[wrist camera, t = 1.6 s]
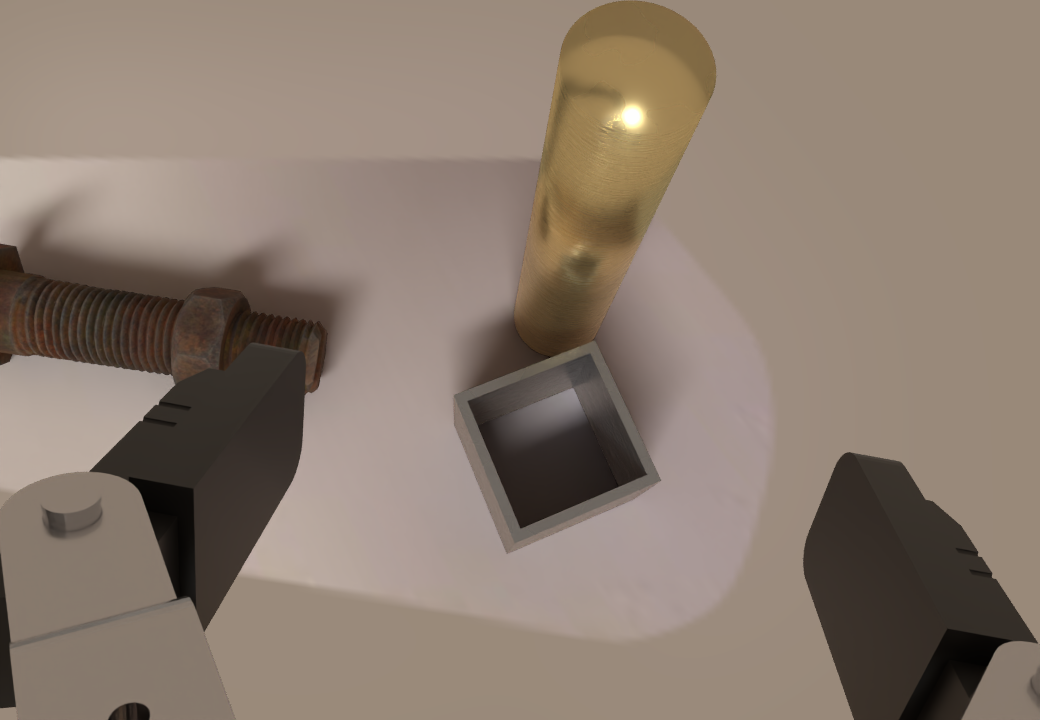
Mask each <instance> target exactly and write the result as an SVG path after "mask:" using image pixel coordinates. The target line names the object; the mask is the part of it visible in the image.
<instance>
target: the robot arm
mask: <svg viewBox="0 0 1040 720" xmlns="http://www.w3.org/2000/svg"><path fill="white" fill-rule="evenodd" d="M305 377H306V360H305V355H304V353H303V352H302V351H297V350H292V349H286V348H281V347H275V346H270V345H264V344H259V343H250V344H249V345H248V346H247V347H246V348H245V349H244V350H243V351H242V352H241V354H240V355H239V356H238V357H237V358H236V359H235V360H234V361H233V362H232V363H231V365H230V366H229V367H228V368H227V369H226V370H225V371H223V370H217V369H212V368H208V369H206V370H204V371H201V372H199V373H197V374H195V375H193V376H190V377H188V378H186V379H184V380H182V381H180V382H178V383H177V384H176V385H175V386H174V387H173V388H172V389H171V390H170V391H169V392H168V393H167V394H166V395H165V396H164V397H163V398H162V399H161V400H160V401H159V405H155V406H154V407H153V408H152V409H151V410H150V411H149V412H148V413H147V414H146V415H145V416H144V419H143V421H139V422H138V423H137V424H136V425H135V426H134V427H133V428H132V429H131V430H130V431H129V432H128V433H127V434H126V435H125V436H124V437H123V438H122V439H121V440H120V441H119V442H118V443H117V444H116V445H115V446H114V447H113V448H112V449H111V450H110V451H109V452H108V453H107V454H106V455H105V456H104V457H103V458H102V459H101V460H100V461H99V462H98V463H97V464H96V465H95V466H94V467H93V468H92V469H91V470H90V471H89V472H75V473H67V474H61V475H57V476H52V477H49V478H46V479H43V480H40V481H37V482H35V483H33V484H30V485H28V486H26V487H25V488H23V489H21V490H19V491H18V492H17V493H15V494H14V495H13V496H11V497H10V498H9V499H8V500H7V501H6V502H5V503H4V505H3V506H2V508H1V509H0V708H8V707H16V709H17V719H18V720H236V719H235V716H234V713H233V710H232V708H231V705H230V702H229V700H228V697H227V694H226V691H225V688H224V686H223V683H222V680H221V677H220V675H219V672H218V669H217V666H216V664H215V661H214V658H213V655H212V653H211V650H210V647H209V644H208V642H207V639H206V636H205V633H204V632H205V630H206V628H207V626H208V625H209V623H210V621H211V619H212V618H213V616H214V614H215V613H216V611H217V609H218V608H219V606H220V604H221V602H222V601H223V599H224V597H225V596H226V594H227V592H228V590H229V589H230V587H231V585H232V584H233V582H234V580H235V578H236V577H237V575H238V573H239V572H240V570H241V568H242V566H243V565H244V563H245V561H246V560H247V558H248V556H249V554H250V553H251V551H252V549H253V548H254V546H255V544H256V542H257V541H258V539H259V537H260V536H261V534H262V532H263V530H264V529H265V527H266V525H267V524H268V522H269V520H270V518H271V517H272V515H273V513H274V512H275V510H276V508H277V506H278V505H279V503H280V501H281V500H282V498H283V496H284V495H285V493H286V491H287V489H288V488H289V486H290V484H291V482H292V480H293V478H294V476H295V473H296V470H297V467H298V463H299V459H300V454H301V448H302V438H303V418H304V397H305ZM803 561H804V562H803V566H804V575H805V579H806V581H807V584H808V588H809V590H810V593H811V596H812V599H813V602H814V605H815V608H816V611H817V614H818V616H819V619H820V622H821V625H822V628H823V631H824V634H825V637H826V640H827V643H828V645H829V648H830V651H831V654H832V657H833V660H834V663H835V666H836V669H837V672H838V674H839V677H840V680H841V683H842V686H843V689H844V692H845V695H846V697H847V700H848V703H849V706H850V709H851V712H852V715H853V718H854V720H1040V644H1038V642H1037V641H1036V639H1035V638H1034V636H1033V635H1032V633H1031V632H1030V630H1029V629H1028V627H1027V626H1026V624H1025V622H1024V621H1023V620H1022V618H1021V616H1020V615H1019V613H1018V612H1017V610H1016V609H1015V607H1014V606H1013V604H1012V603H1011V601H1010V600H1009V598H1008V597H1007V595H1006V594H1005V592H1004V590H1003V589H1002V588H1001V586H1000V584H999V583H998V581H997V580H996V579H993V578H992V572H991V571H990V569H989V568H988V566H987V565H986V563H985V562H984V560H983V559H982V557H978V551H977V549H976V548H975V546H974V545H973V543H972V542H971V540H970V539H969V537H968V536H967V534H966V532H965V531H964V530H963V528H962V526H961V525H959V524H958V523H957V522H956V521H955V520H954V519H952V518H951V517H950V516H949V515H948V514H946V513H945V512H944V511H943V510H942V509H941V508H940V507H939V506H937V505H936V504H935V503H934V502H933V501H929V500H925V498H924V497H923V495H922V493H921V492H920V490H919V488H918V487H917V485H916V484H915V482H914V480H913V479H912V477H911V476H910V474H909V472H908V471H907V469H906V468H905V466H904V465H903V464H902V463H901V462H899V461H894V460H889V459H883V458H878V457H872V456H867V455H861V454H855V453H850V452H849V453H845V454H844V455H843V456H842V457H841V458H840V459H839V461H838V462H837V464H836V466H835V468H834V471H833V473H832V476H831V479H830V481H829V483H828V486H827V488H826V491H825V493H824V496H823V498H822V501H821V503H820V506H819V508H818V511H817V513H816V516H815V518H814V521H813V523H812V525H811V528H810V530H809V533H808V536H807V539H806V543H805V548H804V558H803Z"/></svg>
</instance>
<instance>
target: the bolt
mask: <svg viewBox="0 0 1040 720" xmlns="http://www.w3.org/2000/svg"><path fill="white" fill-rule="evenodd" d="M326 340H327V332H326V330H325V329H324V328H323V326H322V325H321V323H320V322H317V323H316V324H315V325H314V323H313V322H312V320H310V321H309V322H308V323H306V321H305V320H304V319H302V320H301V321H300V322H298V320H297V318H295V319H293V320H290V318H289V317H286V318H284V319H282V317H281V316H277V317H276V318H274V316H273V314H271V315H269V316H266V314H264V313H262V314H260V315H258V313H257V312H253V313H252V314H251V310H250V306H249V303H248V301H247V299H246V298H245V297H244V295H243V294H242V293H241V291H236V290H229V289H223V288H216V287H212V288H202V289H197V290H195V291H193V292H192V293H191V294H190V295H189V296H188V297H187V299H186V300H185V301H184V300H180V301H179V302H178V300H177V299H172V300H170V299H169V298H167V297H165V298H163V299H162V298H161V297H159V296H155V297H153V296H151V295H147V296H146V295H144V294H136V293H133V292H131V293H129V292H126V291H122V292H121V291H119V290H111V289H109V290H105V289H102V288H95V287H88V286H87V285H79V284H77V283H75V284H72V283H69V282H62V281H55V280H51V279H46V278H45V277H43V276H39V275H33V274H27V273H24V270H23V267H22V264H21V261H20V258H19V254H18V251H17V248H16V246H11V245H4V244H0V365H2V364H5V363H7V362H10V359H11V356H12V354H15V355H22V356H31V355H39V356H42V357H45V356H46V357H50V358H57V359H65V360H73V361H76V362H78V361H81V362H83V363H91V364H98V365H106V366H114V367H116V368H119V367H122V368H123V369H131V370H139V371H142V372H143V371H147V372H149V373H151V372H155V373H157V374H161V373H163V374H165V375H169V374H171V375H172V376H173V379H174V382H175V385H176V384H177V383H178V382H180V381H182V380H184V379H186V378H188V377H190V376H193V375H195V374H197V373H199V372H201V371H204V370H206V369H208V368H212V369H217V370H223V371H225V370H226V369H227V368H228V367H229V366H230V365H231V363H232V362H233V361H234V360H235V359H236V358H237V357H238V356H239V355H240V354H241V352H242V351H243V350H244V349H245V348H246V347H247V346H248V345H249V344H250V343H259V344H264V345H270V346H275V347H281V348H286V349H292V350H297V351H302V352H303V353H304V355H305V360H306V377H305V394H306V393H307V392H310V393H312V392H314V391H315V390H317V388H318V386H319V383H320V376H321V372H322V368H323V363H324V358H325V349H326Z"/></svg>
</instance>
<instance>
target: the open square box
mask: <svg viewBox="0 0 1040 720" xmlns="http://www.w3.org/2000/svg"><path fill="white" fill-rule="evenodd" d="M570 388H574V390H575V392H576V394H577V396H578V399H579V401H580V403H581V405H582V407H583V410H584V412H585V414H586V416H587V418H588V421H589V423H590V425H591V427H592V429H593V432H594V434H595V436H596V438H597V440H598V443H599V445H600V447H601V449H602V451H603V454H604V456H605V458H606V460H607V462H608V464H609V467H610V469H611V471H612V473H613V475H614V478H615V480H616V482H617V484H618V486H619V487H618V488H615V489H613V490H611V491H608V492H606V493H604V494H601V495H599V496H597V497H594V498H592V499H589V500H587V501H585V502H582V503H580V504H578V505H575V506H573V507H571V508H568V509H566V510H564V511H561V512H559V513H557V514H554V515H552V516H550V517H547V518H545V519H543V520H540V521H538V522H536V523H533V524H531V525H528V526H526V527H524V528H521V529H520V526H519V524H518V522H517V519H516V517H515V514H514V512H513V510H512V507H511V505H510V502H509V500H508V498H507V495H506V493H505V490H504V488H503V486H502V483H501V481H500V478H499V476H498V474H497V471H496V469H495V466H494V464H493V462H492V459H491V457H490V454H489V452H488V450H487V447H486V445H485V442H484V440H483V438H482V435H481V433H480V430H479V428H478V426H477V425H479V424H482V423H485V422H487V421H490V420H492V419H495V418H497V417H500V416H502V415H505V414H507V413H510V412H512V411H515V410H517V409H520V408H522V407H525V406H527V405H530V404H532V403H535V402H537V401H540V400H542V399H545V398H547V397H550V396H553V395H555V394H558V393H560V392H563V391H565V390H568V389H570ZM454 425H455V428H456V430H457V433H458V435H459V438H460V440H461V442H462V445H463V447H464V450H465V452H466V455H467V457H468V460H469V462H470V464H471V467H472V469H473V472H474V474H475V477H476V479H477V482H478V484H479V486H480V489H481V491H482V494H483V496H484V499H485V501H486V504H487V506H488V508H489V511H490V513H491V516H492V518H493V521H494V523H495V526H496V528H497V530H498V533H499V535H500V538H501V540H502V543H503V545H504V548H505V550H506V552H507V554H508V553H510V552H512V551H515V550H517V549H519V548H522V547H524V546H526V545H529V544H531V543H533V542H536V541H538V540H540V539H543V538H545V537H547V536H550V535H552V534H554V533H556V532H559V531H561V530H563V529H566V528H568V527H570V526H573V525H575V524H577V523H580V522H582V521H584V520H587V519H589V518H591V517H594V516H596V515H598V514H601V513H603V512H605V511H608V510H610V509H612V508H614V507H617V506H619V505H621V504H624V503H626V502H628V501H631V500H633V499H635V498H636V497H638V496H639V495H641V494H642V493H644V492H645V491H647V490H648V489H650V488H651V487H653V486H654V485H656V484H657V483H659V482H660V481H661V479H660V477H659V475H658V473H657V471H656V468H655V466H654V464H653V462H652V460H651V458H650V456H649V454H648V451H647V449H646V447H645V445H644V443H643V441H642V439H641V437H640V434H639V432H638V430H637V428H636V426H635V424H634V422H633V420H632V417H631V415H630V413H629V411H628V409H627V407H626V405H625V403H624V400H623V398H622V396H621V394H620V392H619V390H618V388H617V386H616V383H615V381H614V379H613V377H612V375H611V373H610V371H609V369H608V366H607V364H606V362H605V360H604V358H603V356H602V354H601V352H600V349H599V347H598V345H597V343H596V341H592V342H590V343H587V344H585V345H582V346H580V347H577V348H574V349H572V350H569V351H567V352H564V353H562V354H559V355H556V356H554V357H551V358H549V359H546V360H543V361H541V362H538V363H536V364H533V365H531V366H528V367H525V368H523V369H520V370H518V371H515V372H512V373H510V374H507V375H505V376H502V377H500V378H497V379H494V380H492V381H489V382H487V383H484V384H482V385H479V386H476V387H474V388H471V389H469V390H466V391H463V392H461V393H458V394H456V395H454Z"/></svg>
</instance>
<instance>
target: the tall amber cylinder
mask: <svg viewBox="0 0 1040 720" xmlns="http://www.w3.org/2000/svg"><path fill="white" fill-rule="evenodd" d="M715 82H716V66H715V60H714V57H713V54H712V51H711V49H710V47H709V45H708V43H707V41H706V40H705V38H704V37H703V35H702V34H701V33H700V32H699V30H698V29H697V28H696V27H695V26H694V25H693V24H692V23H690V22H689V21H688V20H686V19H685V18H684V17H682V16H681V15H679V14H678V13H676V12H674V11H672V10H670V9H668V8H666V7H663V6H660V5H657V4H654V3H649V2H642V1H618V2H612V3H608V4H605V5H602V6H599V7H597V8H595V9H593V10H591V11H589V12H587V13H586V14H585V15H583V16H582V17H581V18H579V19H578V20H577V21H576V22H575V24H574V25H573V26H572V27H571V28H570V30H569V31H568V33H567V35H566V37H565V39H564V41H563V44H562V48H561V53H560V58H559V64H558V69H557V75H556V81H555V87H554V92H553V97H552V103H551V109H550V114H549V120H548V125H547V131H546V137H545V142H544V148H543V153H542V159H541V164H540V170H539V175H538V181H537V187H536V192H535V198H534V203H533V209H532V215H531V220H530V226H529V231H528V237H527V243H526V248H525V254H524V259H523V265H522V270H521V276H520V282H519V287H518V293H517V298H516V304H515V310H514V321H515V326H516V329H517V331H518V333H519V335H520V337H521V338H522V340H523V341H524V342H525V343H526V344H527V345H528V346H529V347H530V348H531V349H533V350H535V351H536V352H538V353H540V354H543V355H546V356H550V357H554V356H556V355H559V354H562V353H564V352H567V351H569V350H572V349H574V348H577V347H580V346H582V345H585V344H587V343H590V342H592V341H593V339H594V338H595V336H596V334H597V332H598V330H599V328H600V326H601V324H602V322H603V320H604V317H605V315H606V313H607V311H608V309H609V307H610V305H611V303H612V301H613V299H614V297H615V295H616V293H617V291H618V289H619V286H620V284H621V282H622V280H623V278H624V276H625V274H626V272H627V270H628V268H629V266H630V264H631V262H632V260H633V257H634V255H635V253H636V251H637V249H638V247H639V245H640V243H641V241H642V239H643V237H644V235H645V233H646V231H647V229H648V226H649V224H650V222H651V220H652V218H653V216H654V214H655V212H656V210H657V208H658V206H659V203H660V202H661V200H662V197H663V195H664V193H665V191H666V189H667V187H668V185H669V183H670V181H671V179H672V177H673V175H674V173H675V171H676V169H677V166H678V164H679V162H680V160H681V158H682V156H683V154H684V152H685V150H686V148H687V146H688V144H689V142H690V140H691V137H692V135H693V133H694V131H695V129H696V127H697V125H698V123H699V121H700V119H701V117H702V115H703V113H704V110H705V109H706V107H707V104H708V102H709V100H710V98H711V96H712V94H713V91H714V88H715Z"/></svg>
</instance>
